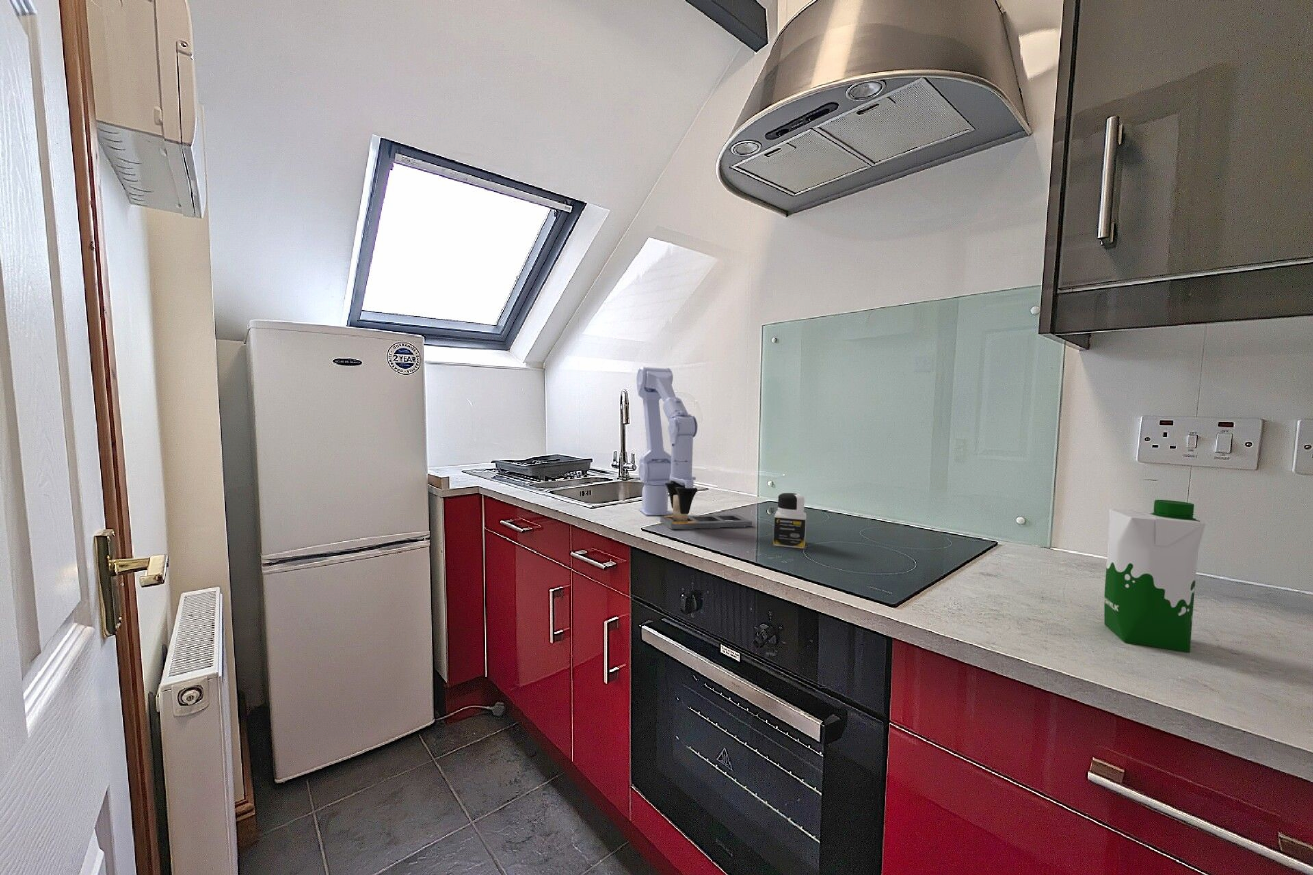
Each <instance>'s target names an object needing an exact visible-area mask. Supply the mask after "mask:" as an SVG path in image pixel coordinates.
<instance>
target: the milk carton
mask: <svg viewBox="0 0 1313 875" xmlns="http://www.w3.org/2000/svg"><path fill="white" fill-rule="evenodd" d="M1194 508H1195V505H1194V503H1192V502H1185V501H1180V500H1178V501H1177V500H1169V499H1155V500H1154V502H1153V511H1148V510H1139V509H1130V510H1126V509H1115V508H1109V511H1108V512H1109V514H1108V516H1109V518H1108V539H1107V553H1106V566H1105V568H1106V569H1105V582H1104V583H1105V584H1104V594H1103V595H1104V596H1103V597H1104V598H1103V599H1104V602H1103V604H1104V606H1103V608H1104V610H1103V612H1104V616H1103V617H1104V626H1106V627H1107V628H1108V629H1109V630H1110V631H1112V632H1113V634H1114V635H1116V637H1118V638H1119V639H1120V640H1121V641H1122V642H1124V643H1126V644H1133V645H1140V646H1143V647H1146V646H1147V647H1154V648H1158V649H1165V650H1172V651H1177V652H1184V653H1191V645H1192V644H1191V643H1192V631H1193V630H1192V629H1193V616H1194V603H1195V592H1196V579H1197V578H1196V577H1197V566H1198V554H1199V549H1200V545H1201V540H1202V538H1203V534H1204V529H1205V526H1206V523H1205V522H1203V521H1202V522H1201V520H1198V519H1196V518H1195V517H1194V513H1195V512H1194V510H1195V509H1194Z"/></svg>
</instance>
